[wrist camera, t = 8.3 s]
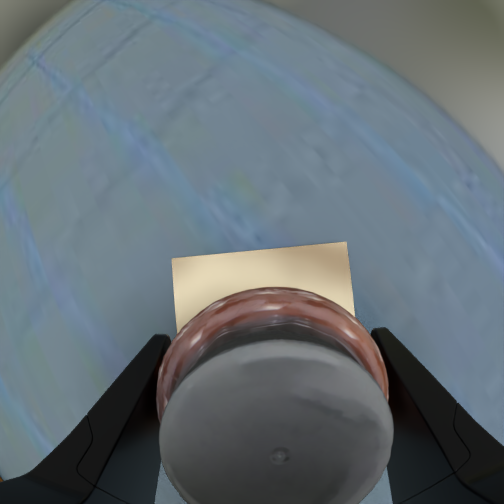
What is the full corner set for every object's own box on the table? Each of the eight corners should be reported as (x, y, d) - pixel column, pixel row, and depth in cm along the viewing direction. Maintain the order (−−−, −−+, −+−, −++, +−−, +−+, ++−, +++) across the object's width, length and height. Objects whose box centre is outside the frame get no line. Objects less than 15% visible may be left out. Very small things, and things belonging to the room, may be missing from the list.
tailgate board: (355, 441, 20) (361, 448, 19) (198, 456, 20) (194, 464, 19) (342, 244, 22) (346, 241, 21) (176, 260, 23) (171, 258, 21)
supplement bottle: (218, 287, 16) (122, 240, 5) (334, 302, 16) (471, 287, 5) (202, 400, 15) (107, 531, 4) (317, 414, 15) (393, 559, 4)
